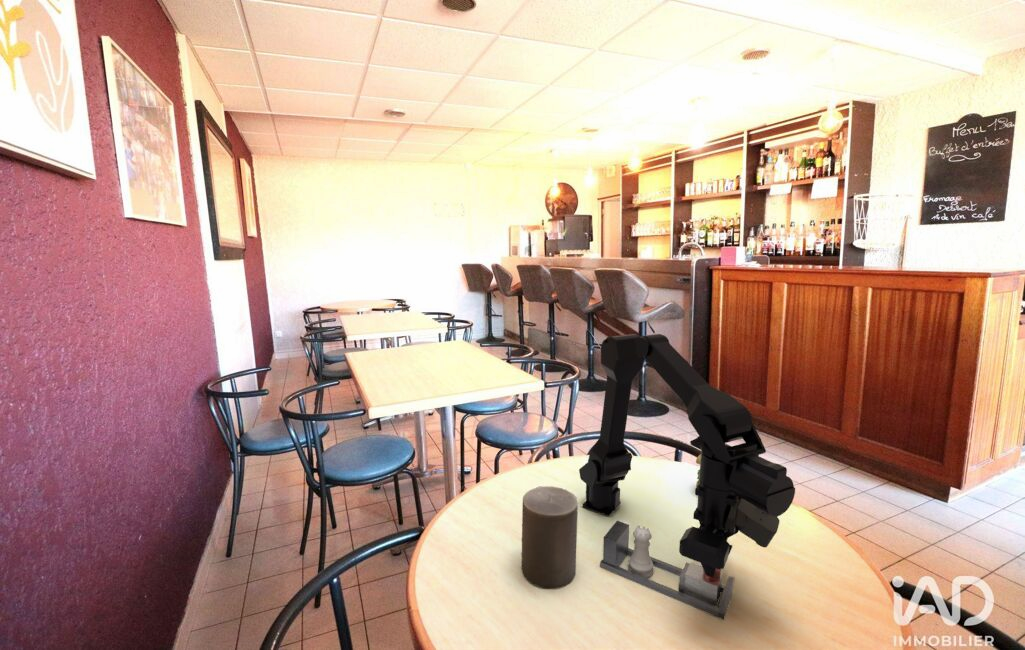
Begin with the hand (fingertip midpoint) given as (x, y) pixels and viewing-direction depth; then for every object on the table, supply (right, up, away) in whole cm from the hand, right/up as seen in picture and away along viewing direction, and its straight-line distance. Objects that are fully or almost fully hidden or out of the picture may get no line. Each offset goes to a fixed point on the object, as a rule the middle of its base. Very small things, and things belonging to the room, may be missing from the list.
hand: (711, 570), depth 76 cm
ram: (-1, -5, +2) cm, 5 cm away
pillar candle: (-26, -4, +8) cm, 27 cm away
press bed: (-6, -4, +5) cm, 9 cm away
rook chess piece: (-9, -4, +8) cm, 13 cm away
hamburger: (+13, 0, +32) cm, 34 cm away
